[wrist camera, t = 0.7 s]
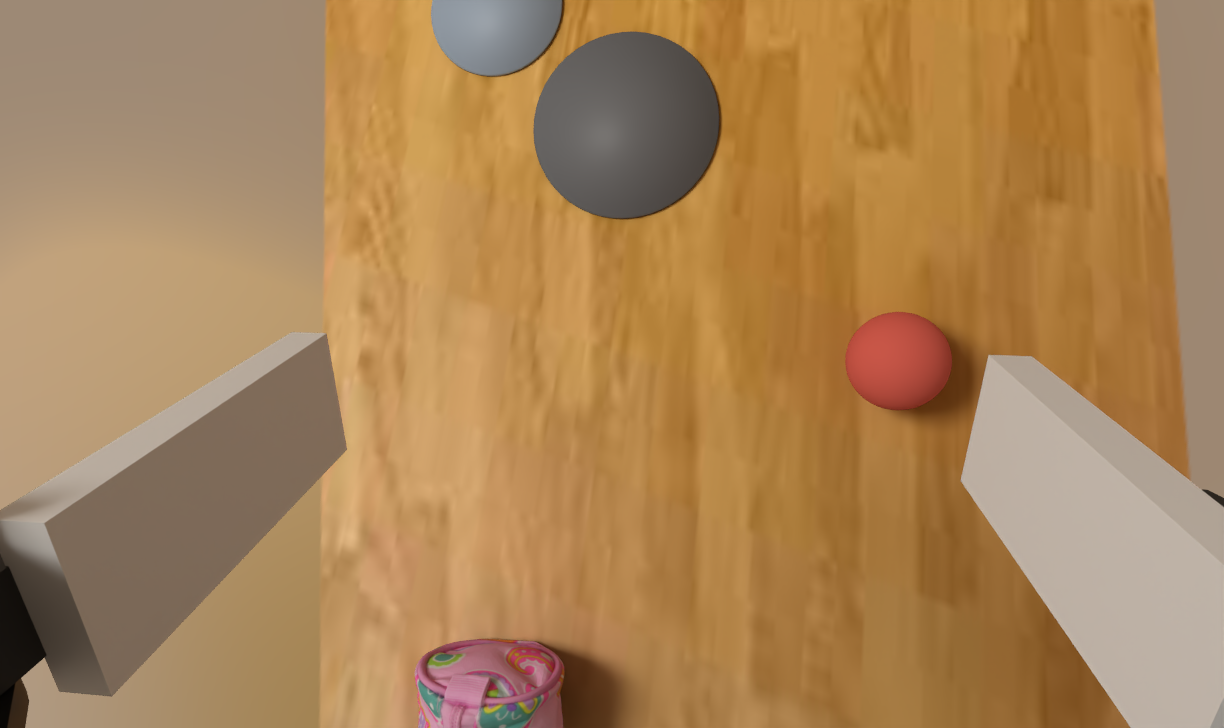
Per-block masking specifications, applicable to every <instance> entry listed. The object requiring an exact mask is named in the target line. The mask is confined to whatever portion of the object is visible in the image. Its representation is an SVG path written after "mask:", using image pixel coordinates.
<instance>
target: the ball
mask: <svg viewBox="0 0 1224 728" xmlns="http://www.w3.org/2000/svg"><path fill="white" fill-rule="evenodd" d="M951 368H952V355H951V350H950V346H949V344H948V341H947V339H946V338H945V336H944V334H943V333H942V332H941V331H940V329H939V328H938V327H937V326H935V325H934V324H933V323H932V322H930V321H929V320H927V319H925V318H923V317H920V316H918V315H915V314H912V313H906V312H893V313H887V314H882V315H880V316H877V317H875V318H873V319H871V320H869V321H868V322H866V323H865V324H864V325H862V326H861V327H860V328H859V329H858V330H857V331H856V333H855V334H854V335H853V337H852V338H851V341H850V343H849V345H848V348H847V352H846V370H847V375H848V377H849V380H850V382H851V384H852V386H853V387H854V388H855V390H856V391H857V392H858V393H859V394H860V395H861V396H862V397H863V398H864V399H866V400H867V401H869V402H870V403H872V404H874V405H876V406H879V407H882V408H885V409H890V410H907V409H912V408H916V407H919V406H921V405H923V404H925V403H927V402H929V401H930V400H932V399H933V398H934V397H935V396H937V395H938V394H939V393H940V391H941V390H942V389H943V388H944V386H945V385H946V383H947V381H948V379H949V376H950V373H951Z"/></svg>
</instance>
